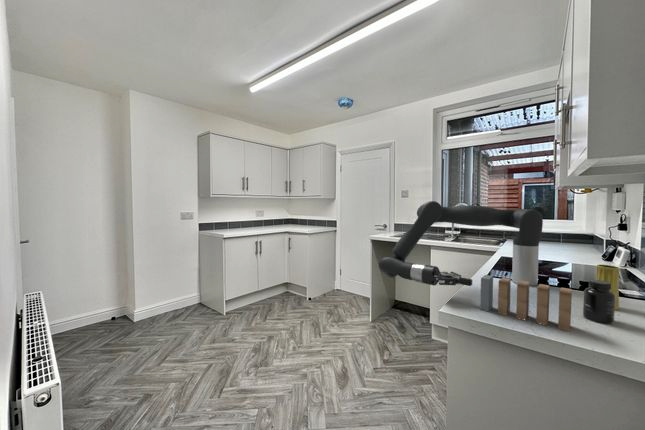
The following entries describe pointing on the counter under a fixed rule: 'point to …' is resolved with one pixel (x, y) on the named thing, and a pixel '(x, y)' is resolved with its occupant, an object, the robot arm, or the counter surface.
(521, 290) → the domino
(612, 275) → the vase
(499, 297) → the domino
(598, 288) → the supplement bottle
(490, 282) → the domino
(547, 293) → the domino
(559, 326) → the domino
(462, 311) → the counter surface
